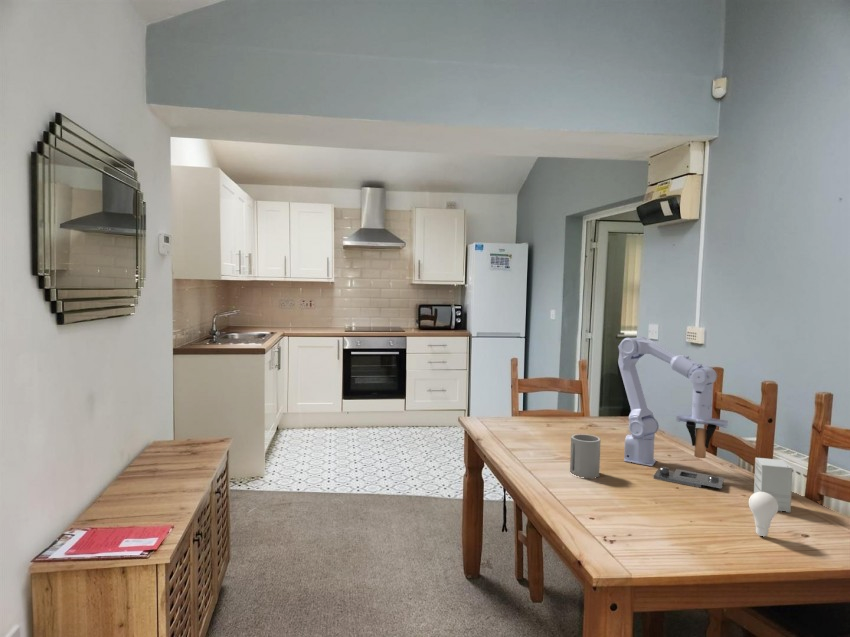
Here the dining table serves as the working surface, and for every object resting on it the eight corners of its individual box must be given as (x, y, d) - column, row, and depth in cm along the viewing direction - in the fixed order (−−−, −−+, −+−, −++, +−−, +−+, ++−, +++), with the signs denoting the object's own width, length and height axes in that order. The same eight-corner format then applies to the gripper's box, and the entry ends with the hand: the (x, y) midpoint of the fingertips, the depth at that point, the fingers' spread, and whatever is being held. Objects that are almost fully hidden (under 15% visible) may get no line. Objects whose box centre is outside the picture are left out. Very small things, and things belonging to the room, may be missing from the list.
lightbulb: (741, 531, 131) (743, 488, 130) (764, 530, 131) (766, 487, 131) (758, 542, 125) (761, 497, 124) (782, 542, 125) (785, 497, 125)
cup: (603, 474, 171) (605, 438, 171) (591, 481, 164) (592, 443, 164) (578, 467, 177) (579, 432, 177) (565, 473, 171) (566, 437, 170)
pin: (693, 456, 168) (694, 429, 168) (695, 454, 171) (696, 427, 171) (704, 458, 167) (706, 431, 166) (706, 456, 169) (707, 428, 169)
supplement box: (782, 503, 149) (784, 459, 149) (791, 513, 142) (793, 467, 142) (752, 499, 152) (754, 456, 151) (759, 509, 145) (762, 464, 144)
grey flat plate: (653, 478, 168) (654, 469, 168) (658, 471, 174) (658, 463, 174) (721, 491, 157) (721, 482, 157) (723, 483, 164) (723, 475, 164)
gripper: (675, 403, 168) (673, 445, 169) (727, 409, 161) (725, 453, 161) (678, 400, 174) (676, 440, 175) (728, 405, 167) (726, 447, 167)
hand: (700, 446), depth 169 cm, fingers closed on pin, 3 cm apart
